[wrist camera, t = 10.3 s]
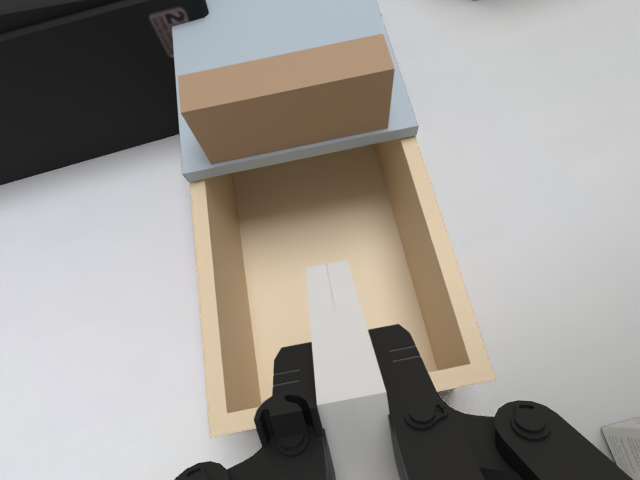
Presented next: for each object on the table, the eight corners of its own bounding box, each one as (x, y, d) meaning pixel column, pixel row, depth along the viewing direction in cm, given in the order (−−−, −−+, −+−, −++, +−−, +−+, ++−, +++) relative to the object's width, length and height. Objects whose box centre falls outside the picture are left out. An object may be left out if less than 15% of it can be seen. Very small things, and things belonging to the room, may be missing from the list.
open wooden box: (453, 387, 25) (496, 379, 17) (253, 428, 25) (209, 437, 17) (374, 116, 32) (380, 29, 25) (221, 147, 32) (180, 70, 25)
